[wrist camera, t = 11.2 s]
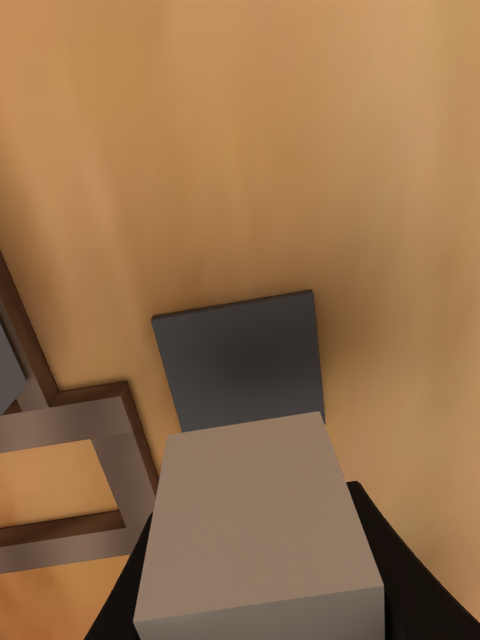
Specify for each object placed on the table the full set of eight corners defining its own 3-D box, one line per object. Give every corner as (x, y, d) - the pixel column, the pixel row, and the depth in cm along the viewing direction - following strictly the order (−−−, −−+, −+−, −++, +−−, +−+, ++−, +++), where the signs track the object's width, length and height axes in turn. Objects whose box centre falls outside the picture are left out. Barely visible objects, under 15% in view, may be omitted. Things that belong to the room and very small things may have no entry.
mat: (311, 289, 17) (313, 293, 17) (323, 419, 20) (325, 424, 20) (152, 316, 17) (150, 320, 17) (186, 441, 20) (186, 446, 20)
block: (319, 411, 12) (384, 585, 7) (329, 519, 13) (385, 713, 9) (167, 434, 12) (132, 622, 7) (198, 538, 13) (186, 740, 9)
